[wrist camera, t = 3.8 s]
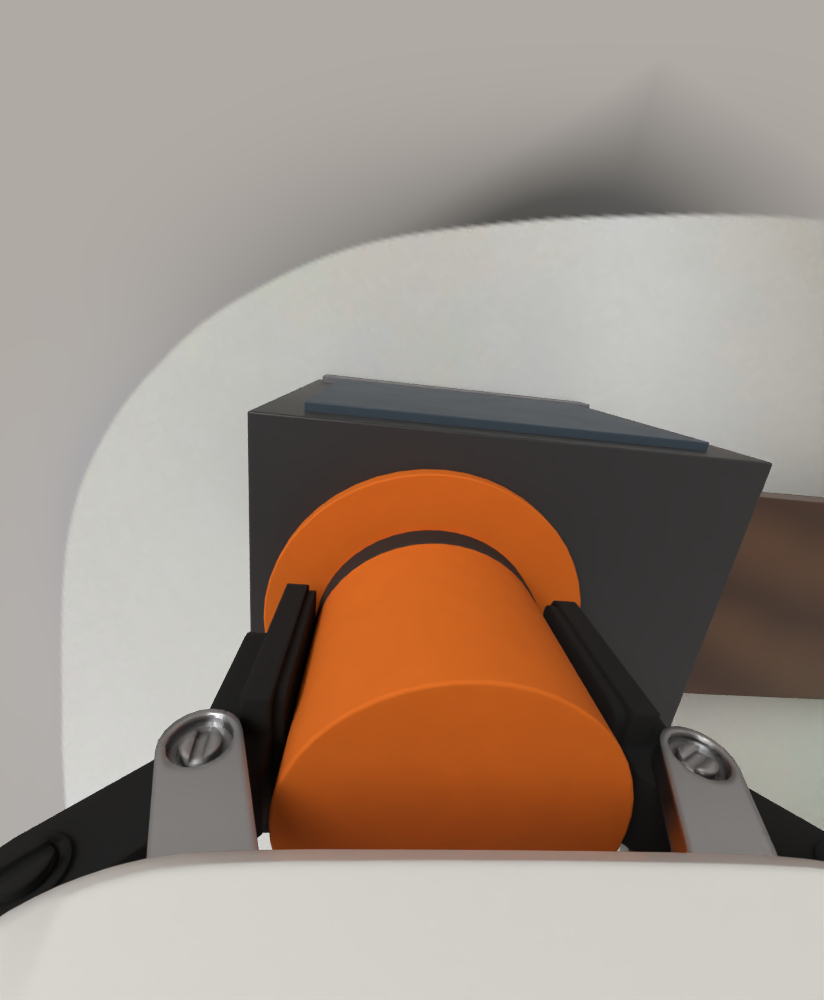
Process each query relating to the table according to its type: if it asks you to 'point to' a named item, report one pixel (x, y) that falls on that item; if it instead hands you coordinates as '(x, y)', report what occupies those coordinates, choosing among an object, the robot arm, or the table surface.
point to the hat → (440, 680)
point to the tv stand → (770, 608)
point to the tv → (528, 498)
